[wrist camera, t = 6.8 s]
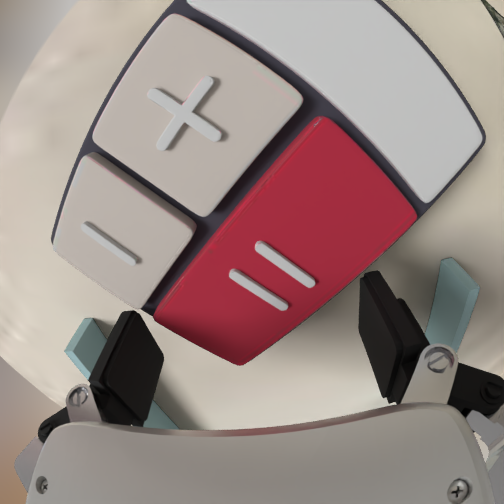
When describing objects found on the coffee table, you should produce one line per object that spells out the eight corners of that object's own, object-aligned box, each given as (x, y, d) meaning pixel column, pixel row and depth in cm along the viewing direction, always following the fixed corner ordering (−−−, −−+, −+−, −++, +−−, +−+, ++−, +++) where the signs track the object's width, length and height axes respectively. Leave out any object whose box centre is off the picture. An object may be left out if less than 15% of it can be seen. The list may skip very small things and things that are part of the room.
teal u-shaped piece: (451, 257, 13) (479, 287, 10) (396, 423, 23) (403, 445, 20) (84, 318, 15) (64, 351, 13) (195, 450, 25) (192, 472, 22)
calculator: (38, 253, 9) (260, -88, 3) (85, 211, 13) (261, -37, 6) (242, 379, 12) (503, 144, 6) (247, 318, 16) (443, 124, 10)
